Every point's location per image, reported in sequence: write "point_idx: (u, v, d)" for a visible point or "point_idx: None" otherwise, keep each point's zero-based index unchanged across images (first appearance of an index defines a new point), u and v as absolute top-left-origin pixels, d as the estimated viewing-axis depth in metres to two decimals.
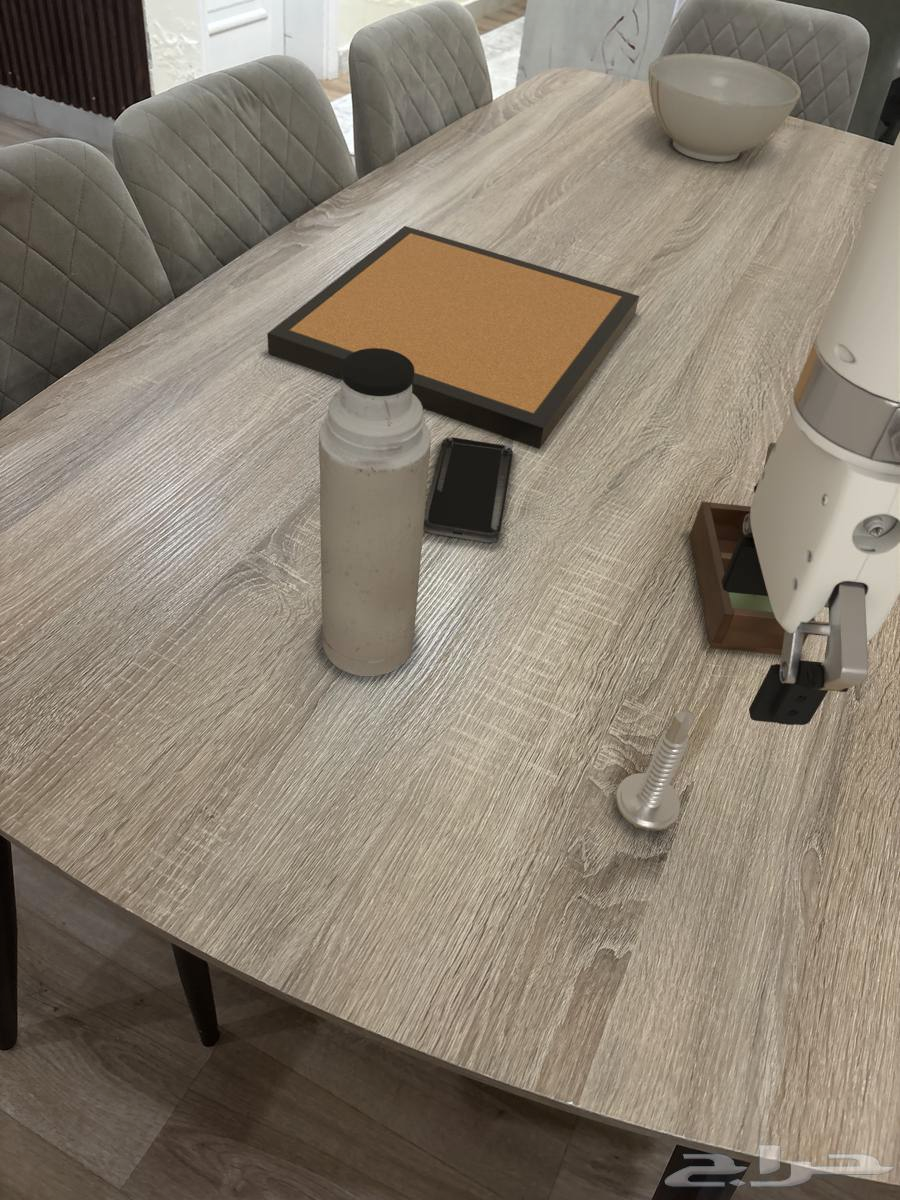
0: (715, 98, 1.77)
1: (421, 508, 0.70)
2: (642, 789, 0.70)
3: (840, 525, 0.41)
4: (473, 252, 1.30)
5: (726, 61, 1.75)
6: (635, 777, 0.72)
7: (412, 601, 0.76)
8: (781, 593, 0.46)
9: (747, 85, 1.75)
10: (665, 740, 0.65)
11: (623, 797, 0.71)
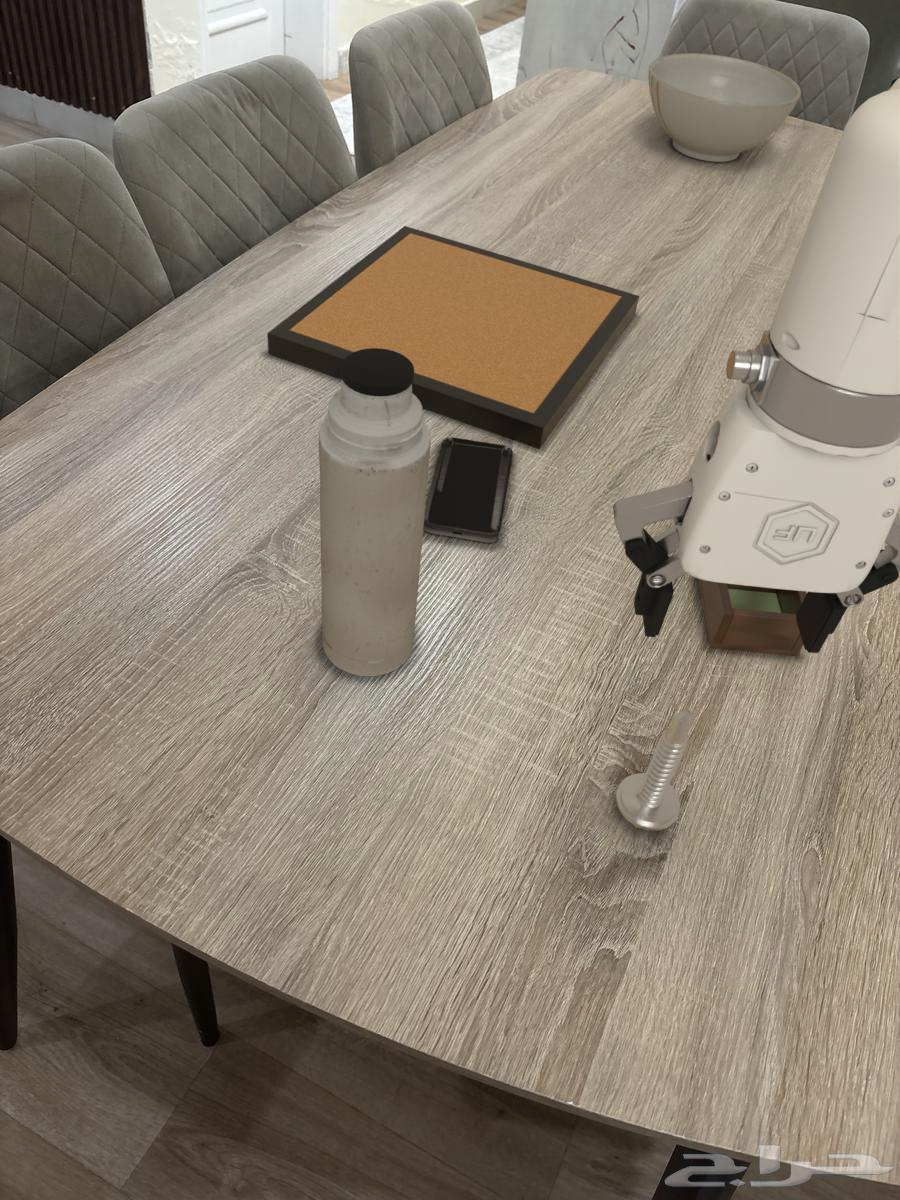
0: (715, 98, 1.77)
1: (421, 508, 0.70)
2: (642, 789, 0.70)
3: (713, 422, 0.48)
4: (473, 252, 1.30)
5: (726, 61, 1.75)
6: (635, 777, 0.72)
7: (412, 601, 0.76)
8: None
9: (747, 85, 1.75)
10: (665, 740, 0.65)
11: (623, 797, 0.71)
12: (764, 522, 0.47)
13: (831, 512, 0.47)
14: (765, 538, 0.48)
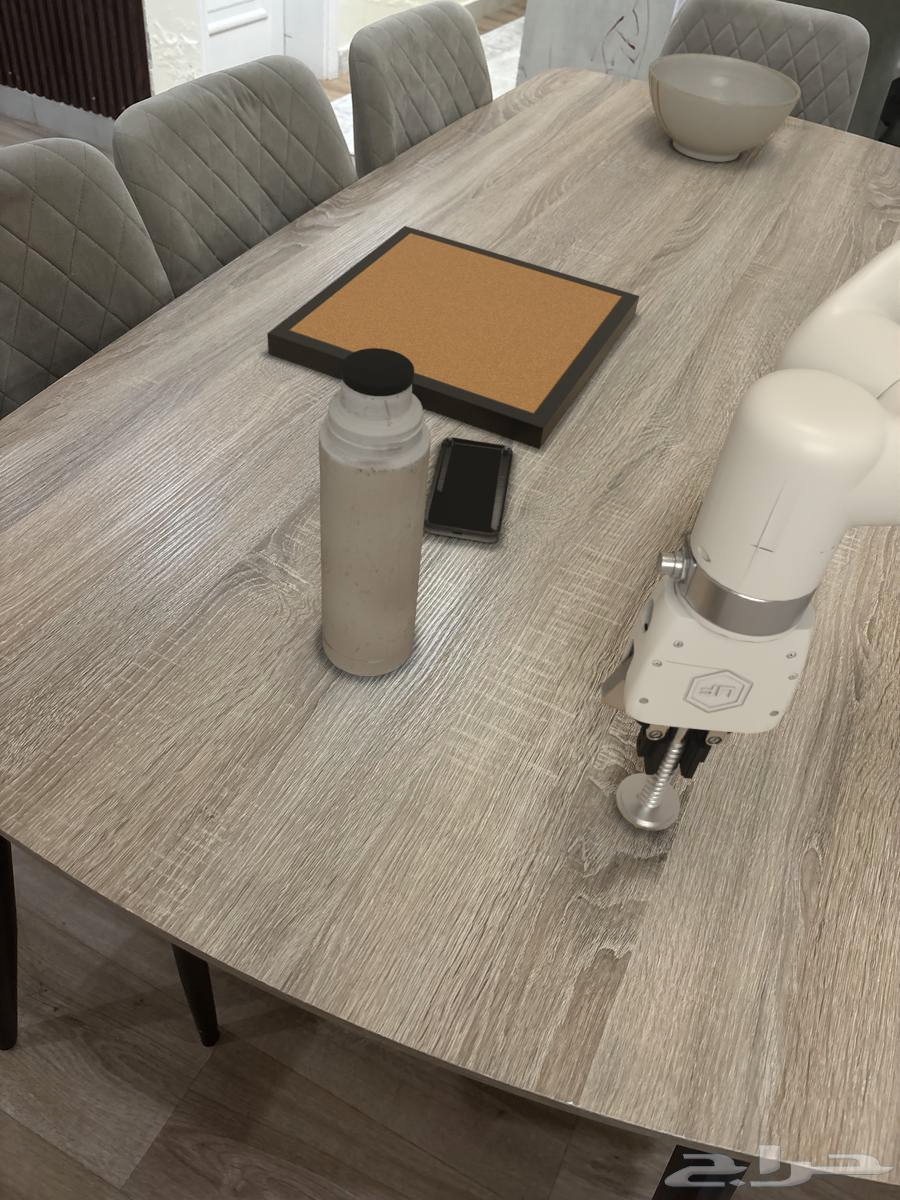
0: (715, 98, 1.77)
1: (421, 508, 0.70)
2: (642, 789, 0.70)
3: (650, 596, 0.58)
4: (473, 252, 1.30)
5: (726, 61, 1.75)
6: (635, 777, 0.72)
7: (412, 601, 0.76)
8: None
9: (747, 85, 1.75)
10: None
11: (623, 797, 0.71)
12: (691, 682, 0.57)
13: (745, 676, 0.56)
14: (693, 694, 0.58)
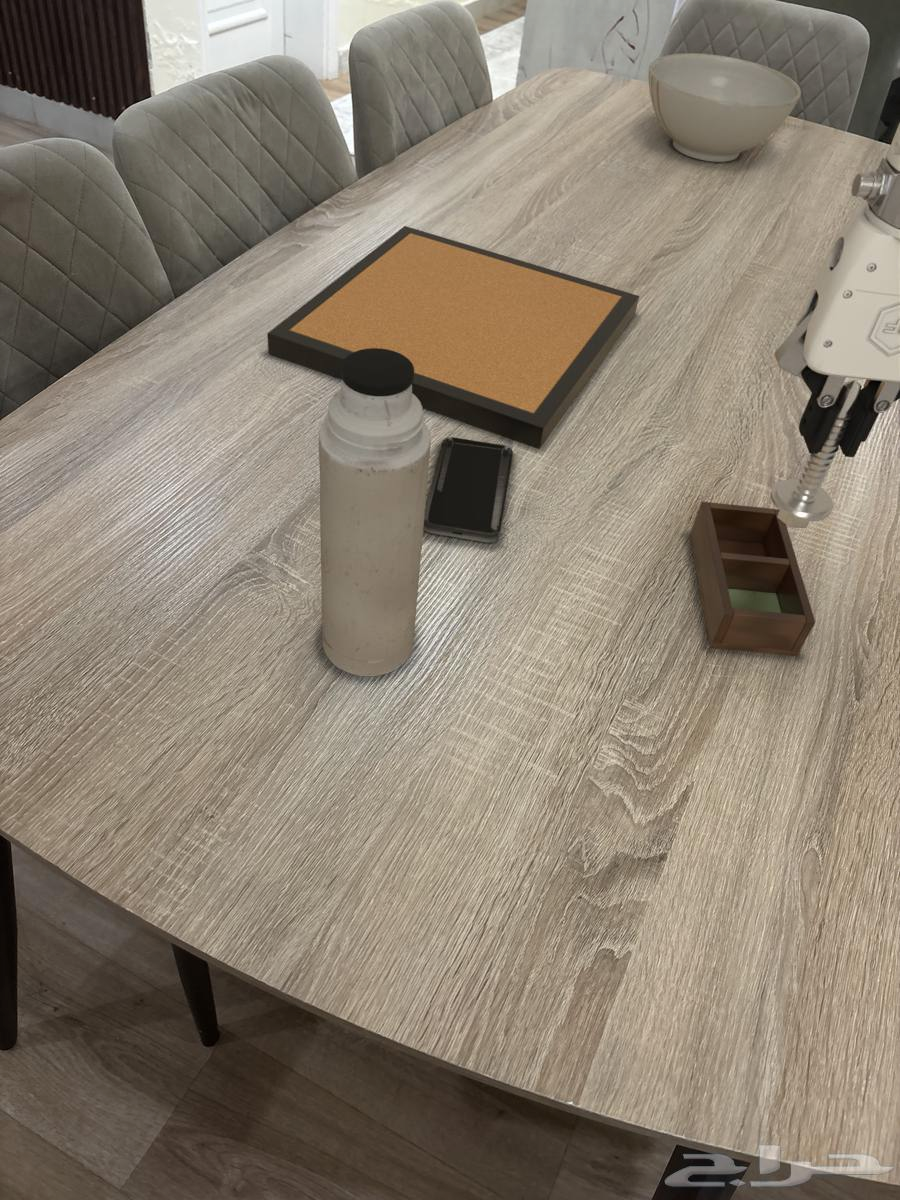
0: (715, 98, 1.77)
1: (421, 508, 0.70)
2: (798, 483, 0.73)
3: (834, 242, 0.61)
4: (473, 252, 1.30)
5: (726, 61, 1.75)
6: (787, 480, 0.76)
7: (412, 601, 0.76)
8: None
9: (747, 85, 1.75)
10: None
11: (779, 494, 0.74)
12: (877, 317, 0.60)
13: None
14: (877, 332, 0.61)
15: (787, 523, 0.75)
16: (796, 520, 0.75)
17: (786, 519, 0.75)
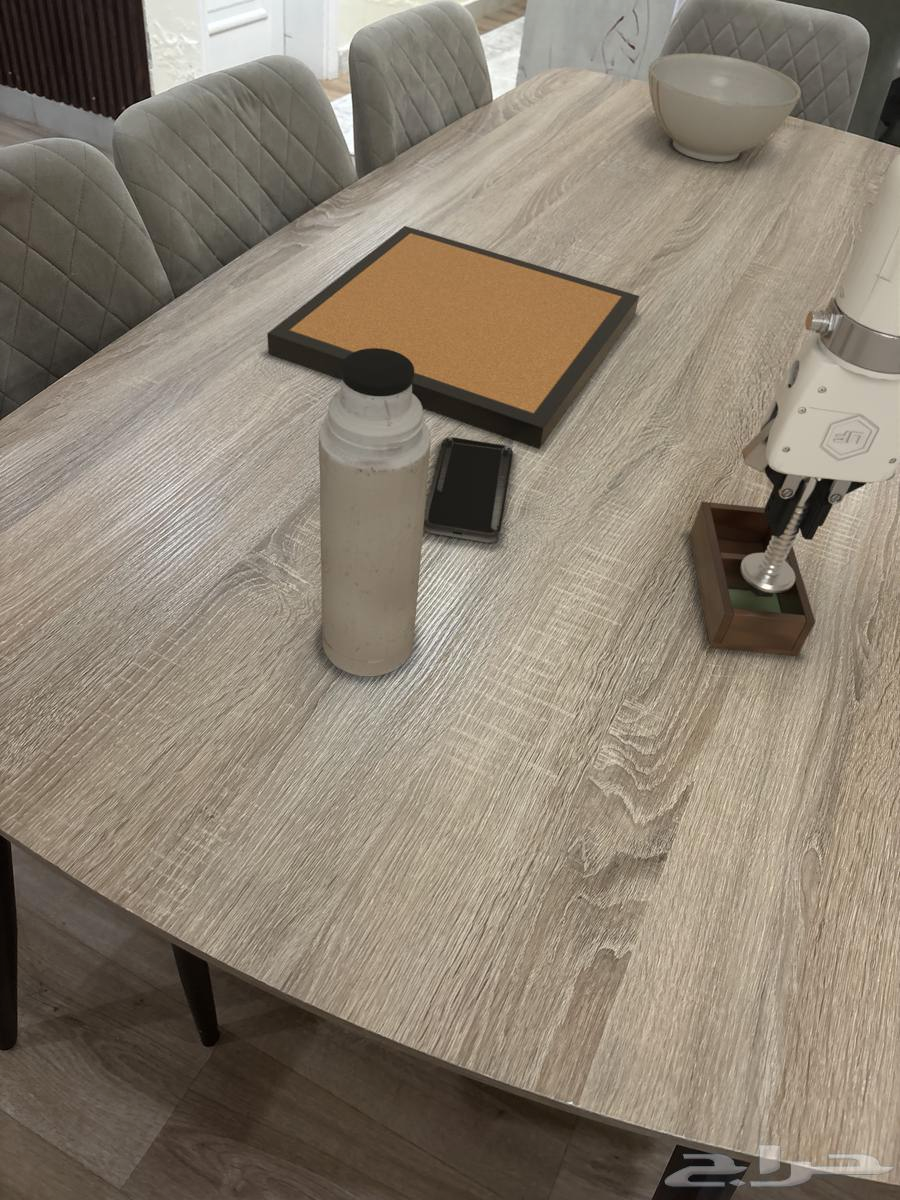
0: (715, 98, 1.77)
1: (421, 508, 0.70)
2: (764, 559, 0.83)
3: (792, 362, 0.71)
4: (473, 252, 1.30)
5: (726, 61, 1.75)
6: (755, 554, 0.85)
7: (412, 601, 0.76)
8: None
9: (747, 85, 1.75)
10: None
11: (747, 568, 0.84)
12: (828, 429, 0.70)
13: (873, 421, 0.69)
14: (828, 441, 0.71)
15: (754, 592, 0.85)
16: (762, 590, 0.84)
17: (754, 589, 0.85)
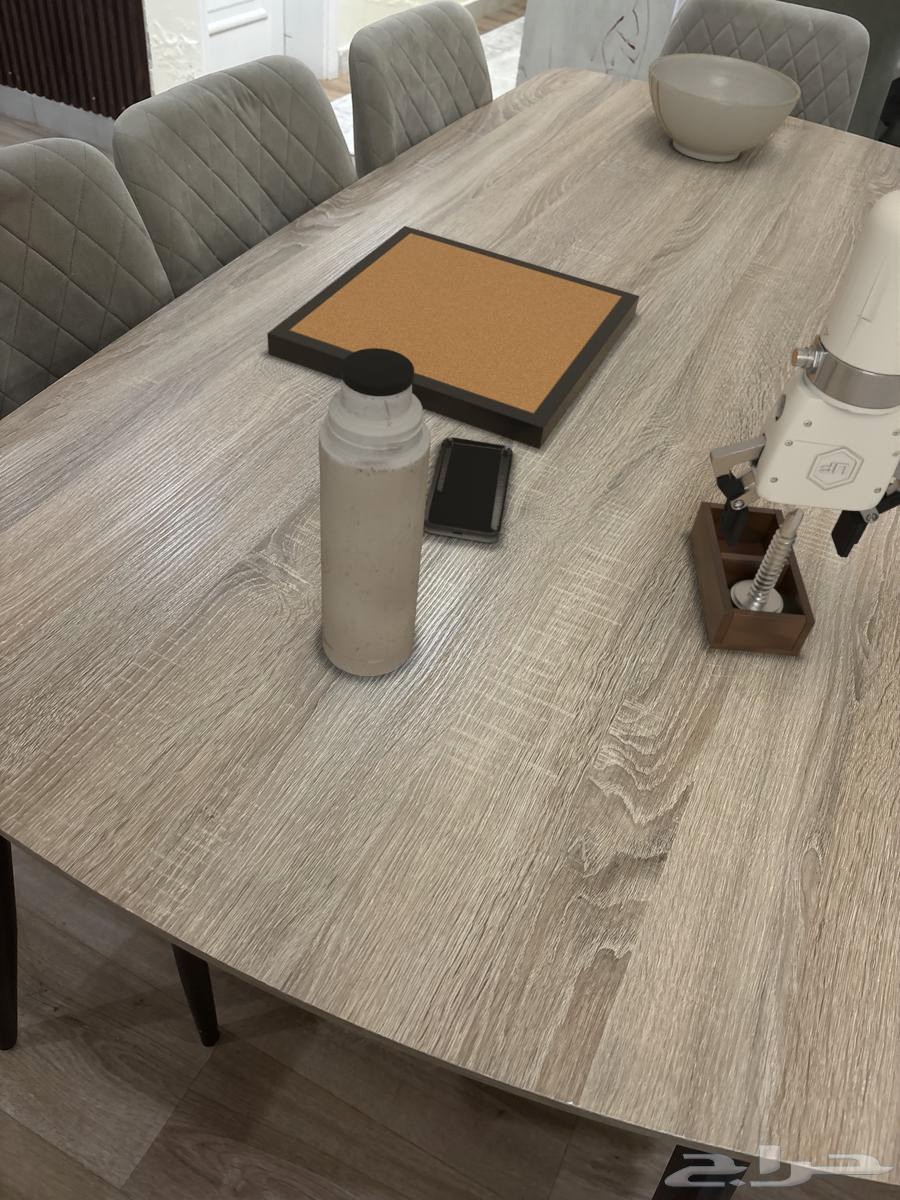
0: (715, 98, 1.77)
1: (421, 508, 0.70)
2: (753, 587, 0.85)
3: (779, 395, 0.73)
4: (473, 252, 1.30)
5: (726, 61, 1.75)
6: (745, 582, 0.88)
7: (412, 601, 0.76)
8: None
9: (747, 85, 1.75)
10: (778, 535, 0.81)
11: (736, 595, 0.86)
12: (814, 460, 0.72)
13: (858, 453, 0.71)
14: (814, 471, 0.73)
15: None
16: None
17: None
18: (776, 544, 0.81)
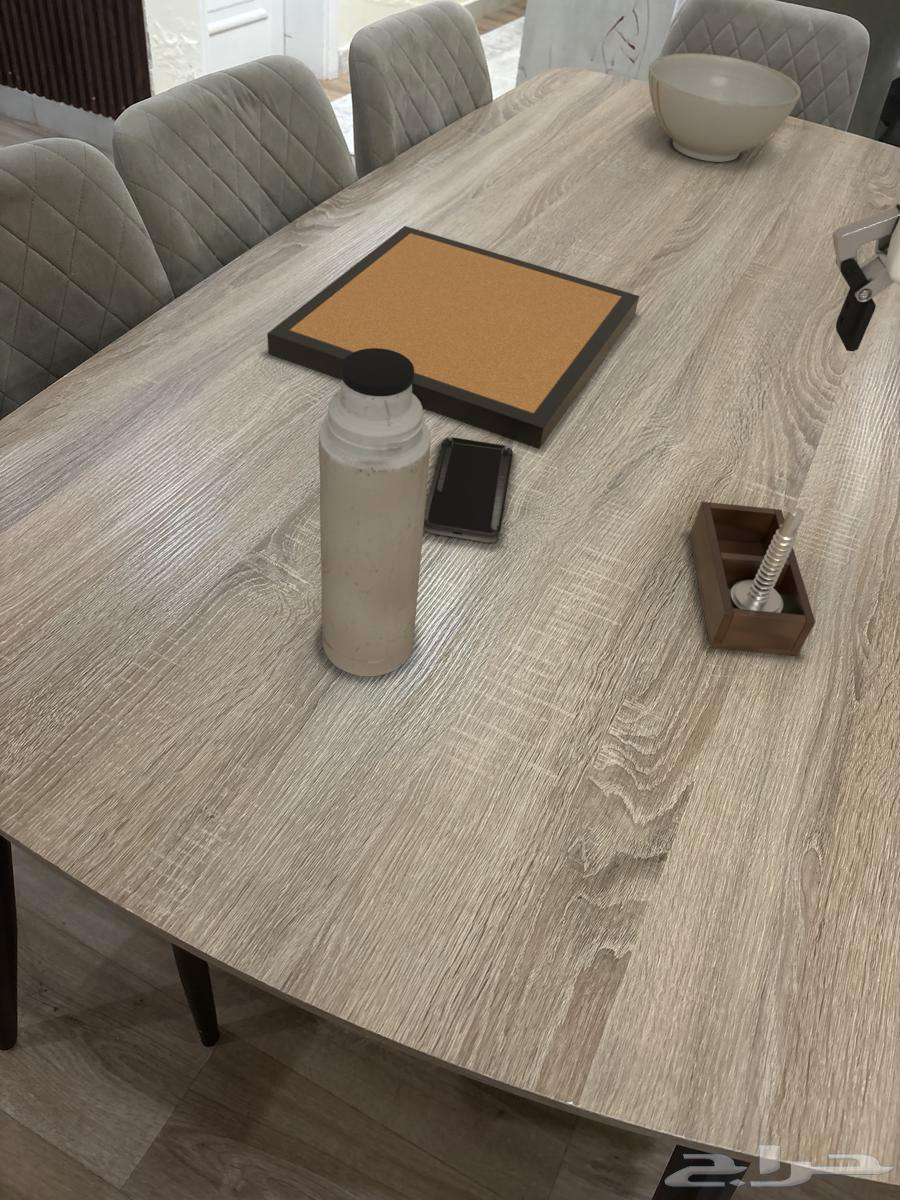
0: (715, 98, 1.77)
1: (421, 508, 0.70)
2: (753, 587, 0.85)
3: None
4: (473, 252, 1.30)
5: (726, 61, 1.75)
6: (745, 582, 0.88)
7: (412, 601, 0.76)
8: None
9: (747, 85, 1.75)
10: (778, 535, 0.81)
11: (736, 595, 0.86)
12: None
13: None
14: None
15: None
16: None
17: None
18: (776, 544, 0.81)
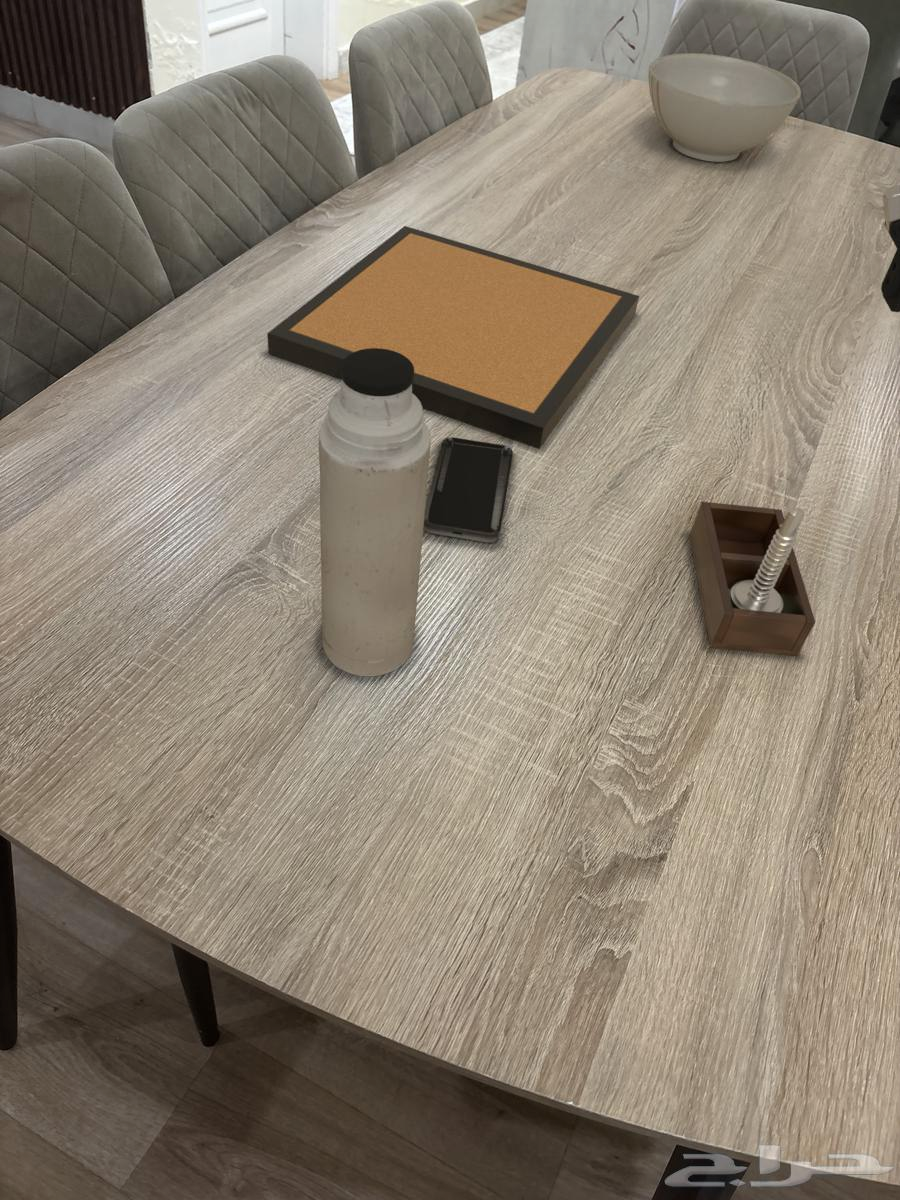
0: (715, 98, 1.77)
1: (421, 508, 0.70)
2: (753, 587, 0.85)
3: None
4: (473, 252, 1.30)
5: (726, 61, 1.75)
6: (745, 582, 0.88)
7: (412, 601, 0.76)
8: None
9: (747, 85, 1.75)
10: (778, 535, 0.81)
11: (736, 595, 0.86)
12: None
13: None
14: None
15: None
16: None
17: None
18: (776, 544, 0.81)
